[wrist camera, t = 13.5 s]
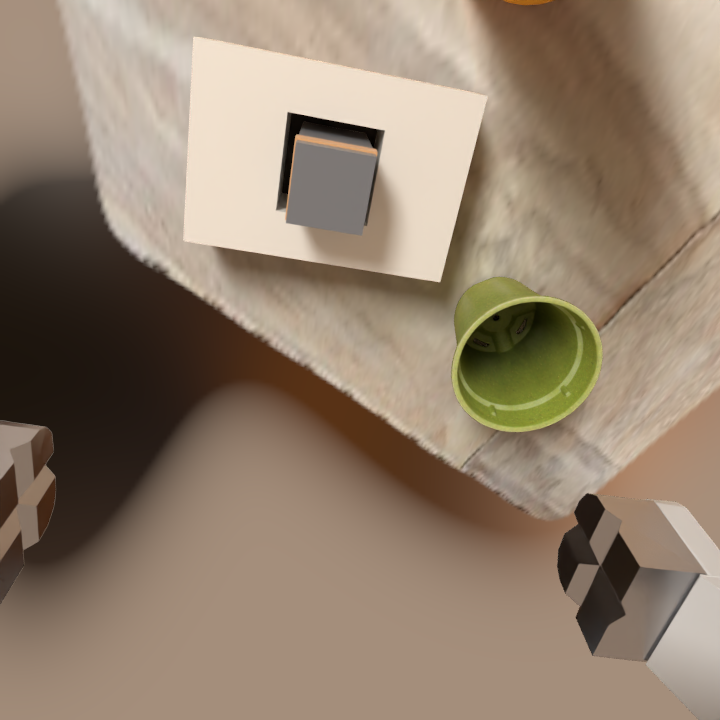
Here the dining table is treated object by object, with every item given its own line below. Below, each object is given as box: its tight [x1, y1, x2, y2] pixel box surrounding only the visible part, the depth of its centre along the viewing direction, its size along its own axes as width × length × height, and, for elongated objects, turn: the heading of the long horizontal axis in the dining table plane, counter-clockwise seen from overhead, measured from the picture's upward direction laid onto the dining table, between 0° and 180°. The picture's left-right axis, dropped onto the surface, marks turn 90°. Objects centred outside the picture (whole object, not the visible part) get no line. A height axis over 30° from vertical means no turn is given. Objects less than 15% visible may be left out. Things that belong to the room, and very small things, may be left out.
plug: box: [285, 121, 378, 236], centre depth 34 cm, size 4×4×10 cm
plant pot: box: [451, 277, 603, 432], centre depth 41 cm, size 9×9×9 cm
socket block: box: [183, 37, 488, 282], centre depth 37 cm, size 16×11×5 cm
